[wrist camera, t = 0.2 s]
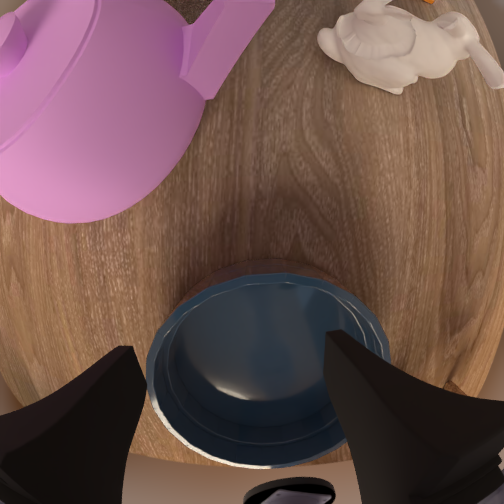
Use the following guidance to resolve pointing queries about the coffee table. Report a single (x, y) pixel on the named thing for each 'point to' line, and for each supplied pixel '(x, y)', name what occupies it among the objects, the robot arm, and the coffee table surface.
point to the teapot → (107, 97)
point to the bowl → (256, 363)
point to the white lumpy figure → (404, 46)
